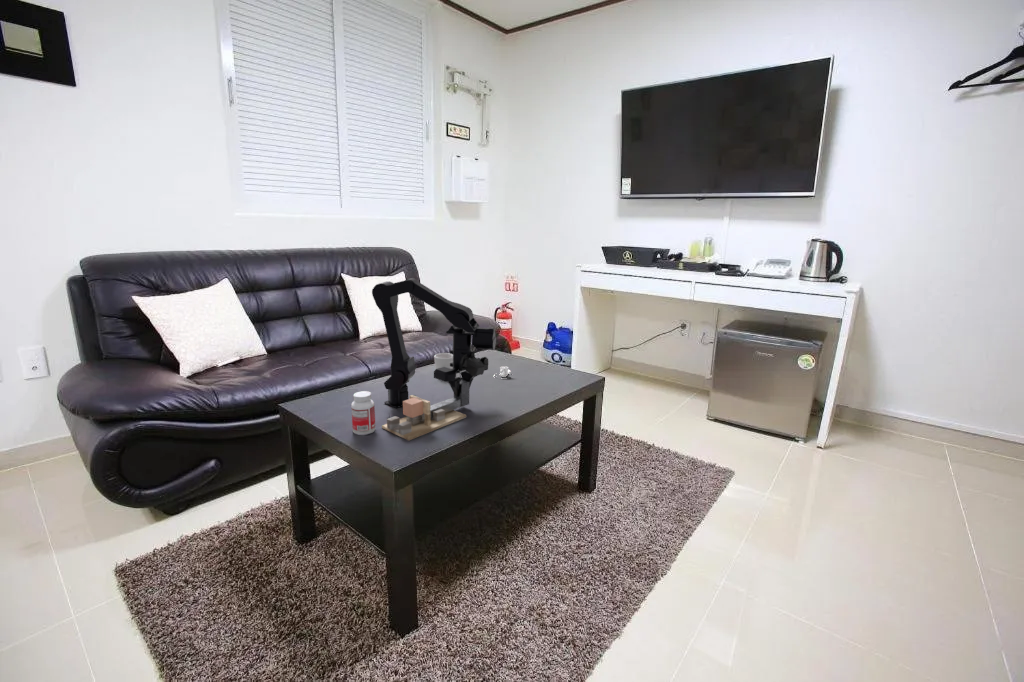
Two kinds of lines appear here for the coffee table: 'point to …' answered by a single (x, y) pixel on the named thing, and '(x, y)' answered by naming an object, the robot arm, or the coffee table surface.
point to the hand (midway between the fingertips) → (461, 395)
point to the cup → (443, 360)
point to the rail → (430, 424)
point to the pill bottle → (363, 413)
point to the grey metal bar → (446, 403)
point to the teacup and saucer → (504, 371)
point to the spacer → (413, 407)
